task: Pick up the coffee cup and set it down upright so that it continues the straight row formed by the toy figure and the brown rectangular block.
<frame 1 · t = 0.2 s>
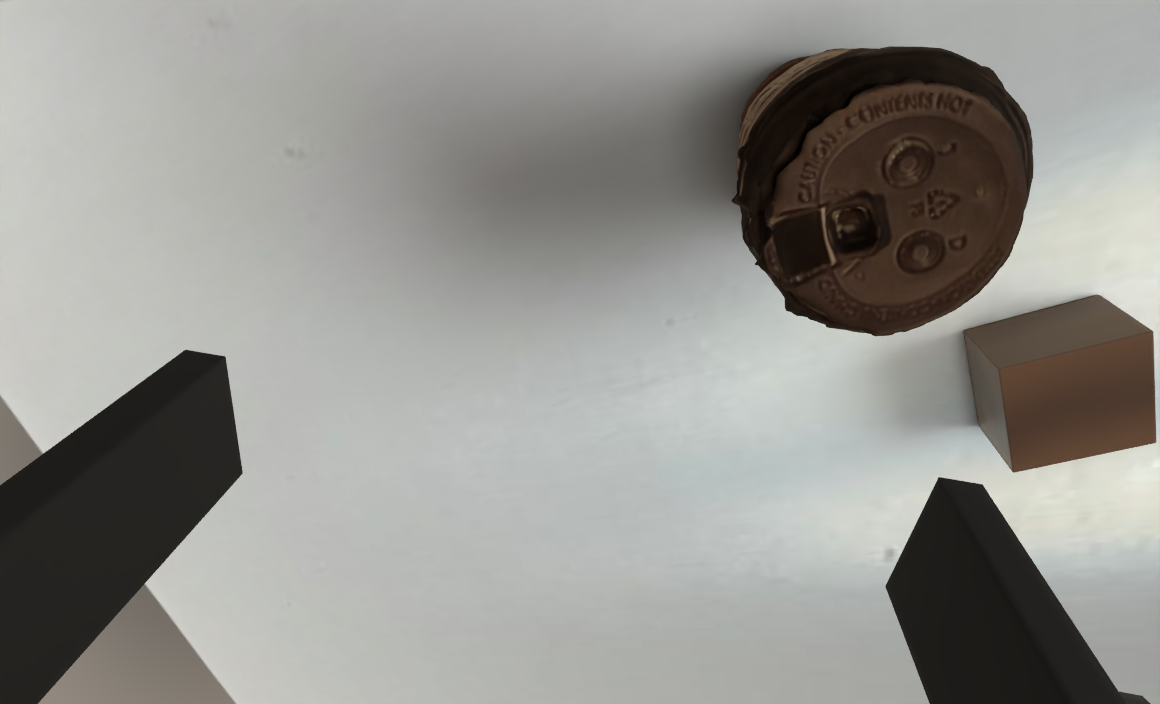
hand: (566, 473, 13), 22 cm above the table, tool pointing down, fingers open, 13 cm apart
brown rectangular block: (1035, 364, 33), on the table
coffee cup: (804, 131, 30), on the table
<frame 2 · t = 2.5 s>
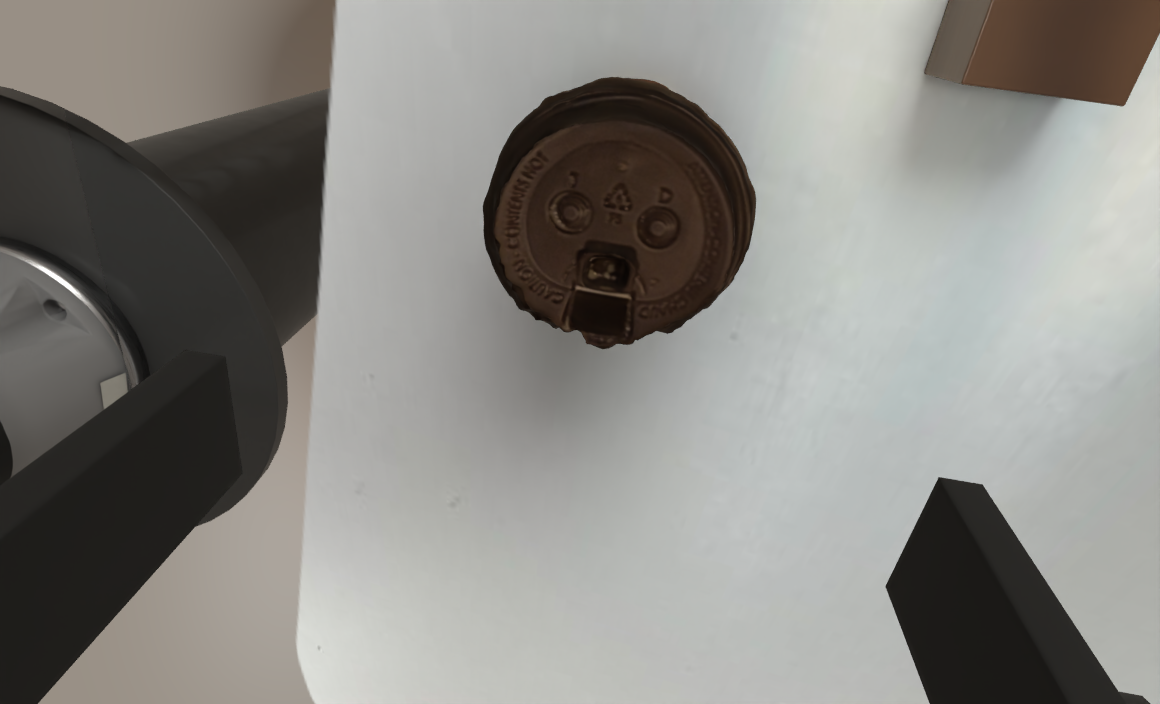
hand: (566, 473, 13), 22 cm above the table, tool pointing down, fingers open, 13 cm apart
brown rectangular block: (1025, 4, 27), on the table
coffee cup: (626, 152, 31), on the table
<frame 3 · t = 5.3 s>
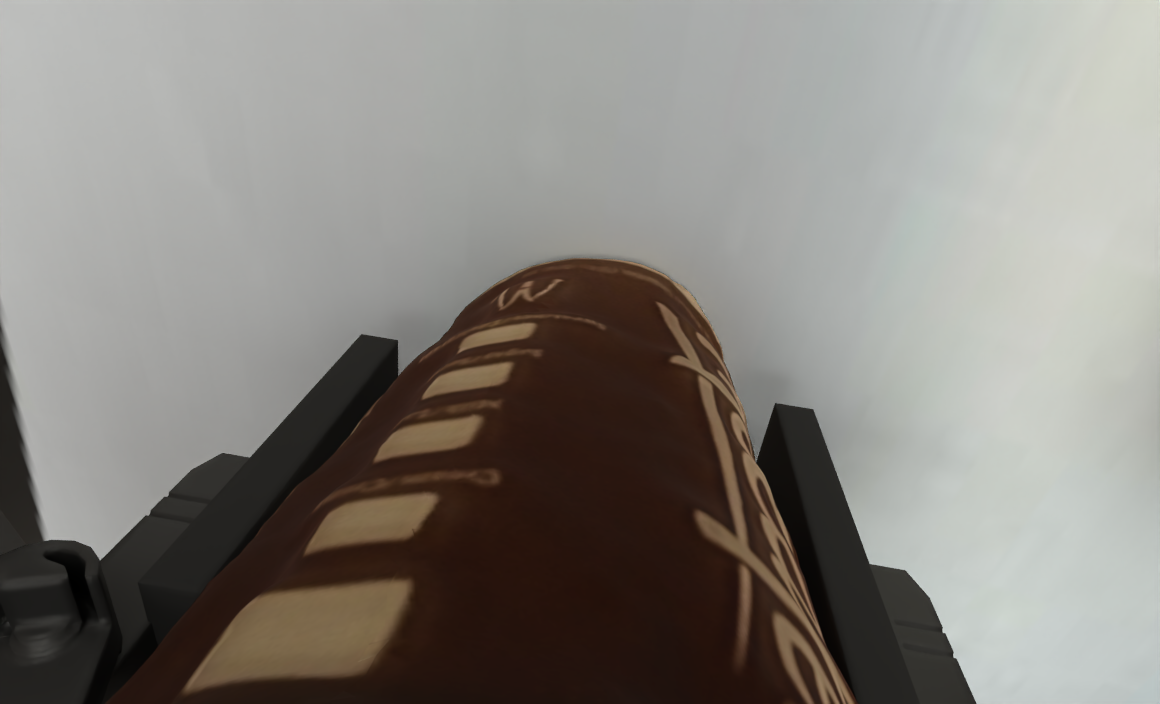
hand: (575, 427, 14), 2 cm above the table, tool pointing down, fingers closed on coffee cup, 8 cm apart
coffee cup: (584, 382, 16), on the table, touching gripper
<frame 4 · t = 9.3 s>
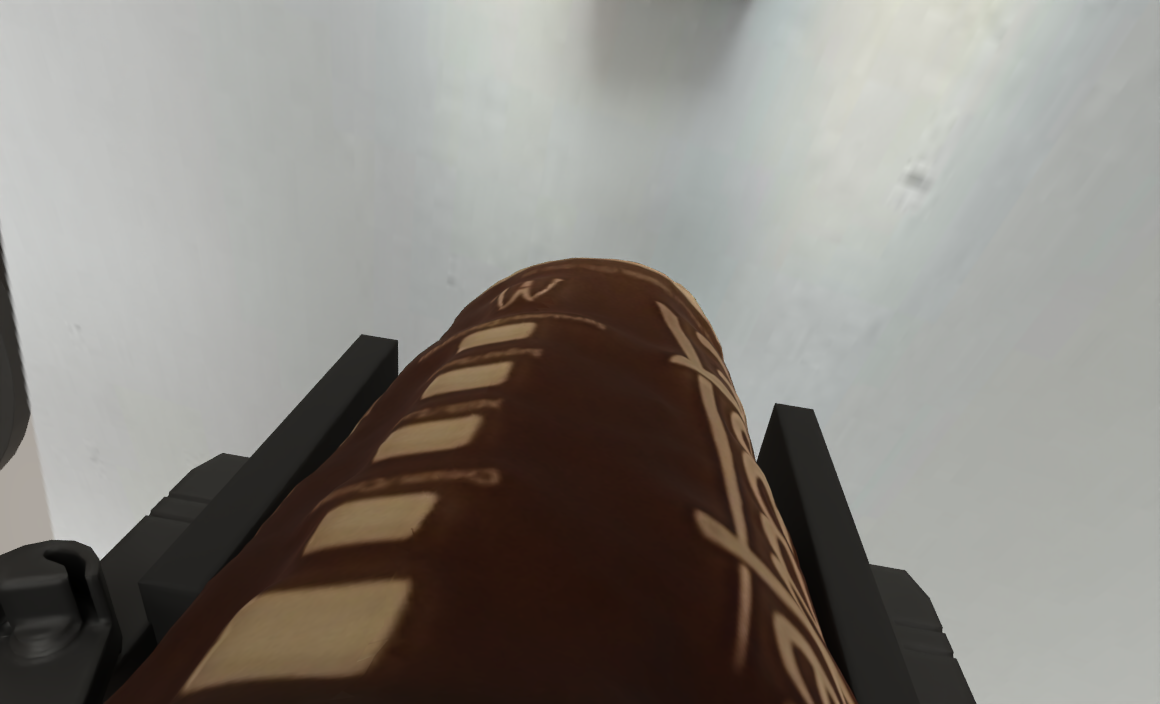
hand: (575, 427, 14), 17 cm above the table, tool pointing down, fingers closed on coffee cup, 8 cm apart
coffee cup: (584, 381, 15), point 15 cm above the table, touching gripper
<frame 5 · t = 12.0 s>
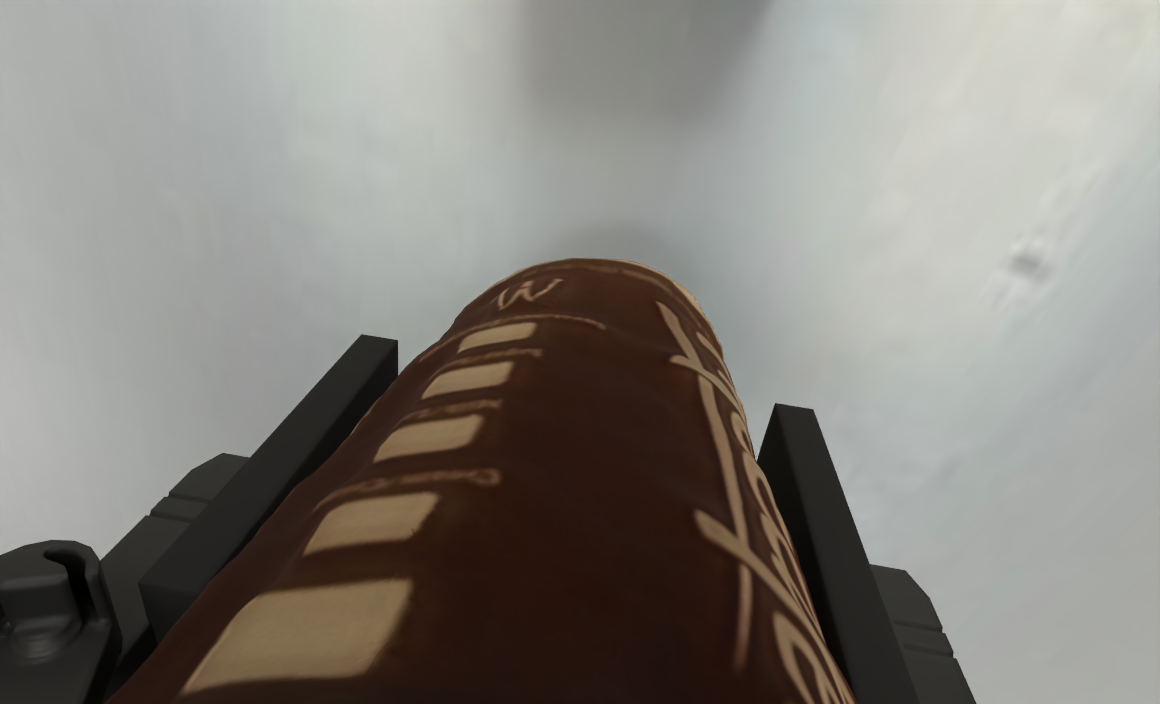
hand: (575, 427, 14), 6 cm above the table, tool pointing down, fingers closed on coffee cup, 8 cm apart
coffee cup: (584, 381, 15), point 4 cm above the table, touching gripper
when the fingers open (2 cm above the table, at t = 13.7 s): coffee cup stays where it is, on the table.
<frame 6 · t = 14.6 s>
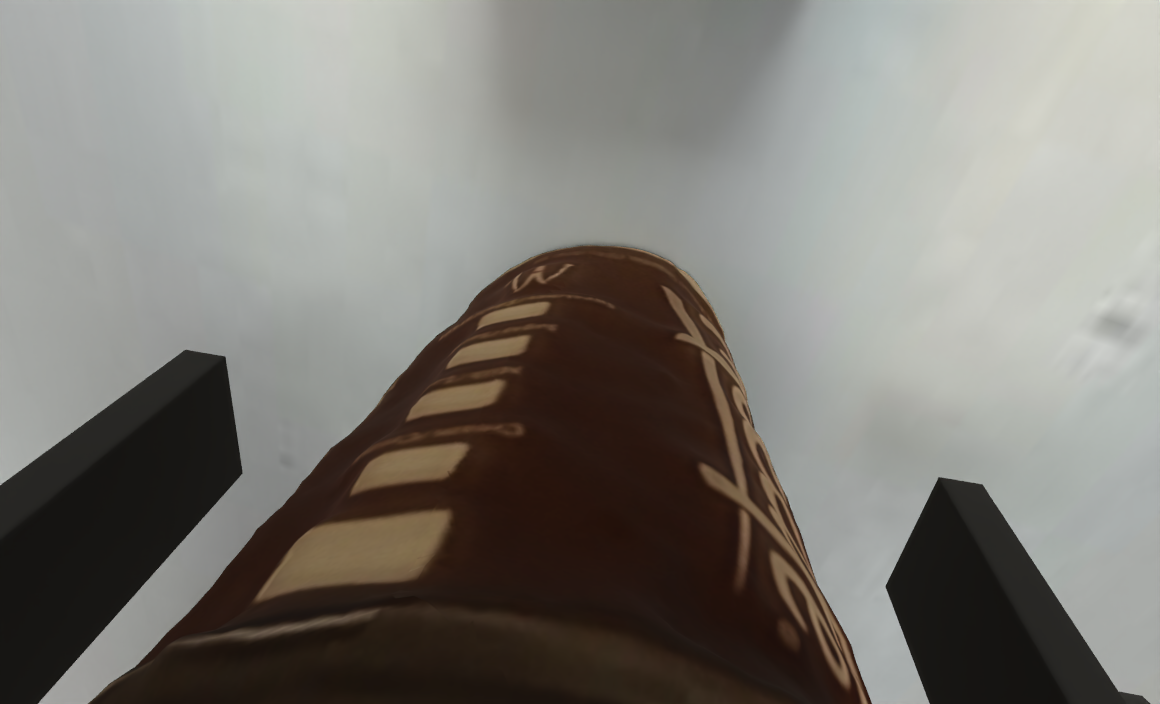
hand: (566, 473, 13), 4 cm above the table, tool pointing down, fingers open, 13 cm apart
coffee cup: (592, 365, 16), on the table
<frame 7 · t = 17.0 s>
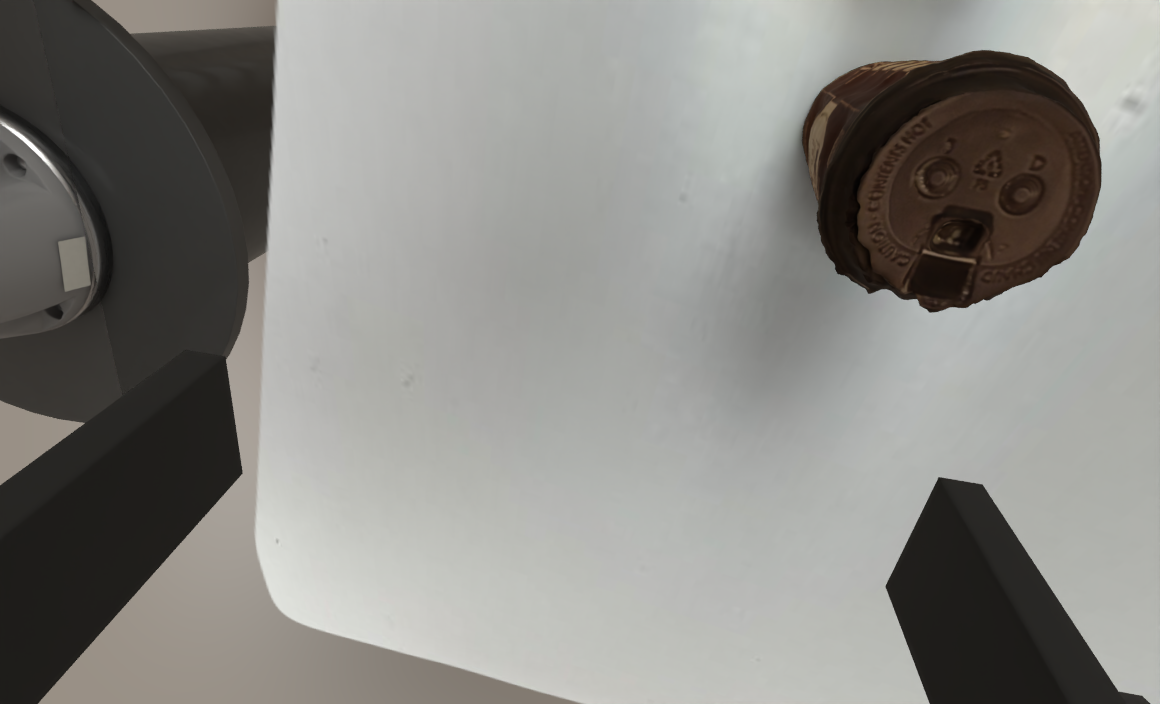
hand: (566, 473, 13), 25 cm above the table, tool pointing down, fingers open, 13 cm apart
coffee cup: (866, 133, 32), on the table
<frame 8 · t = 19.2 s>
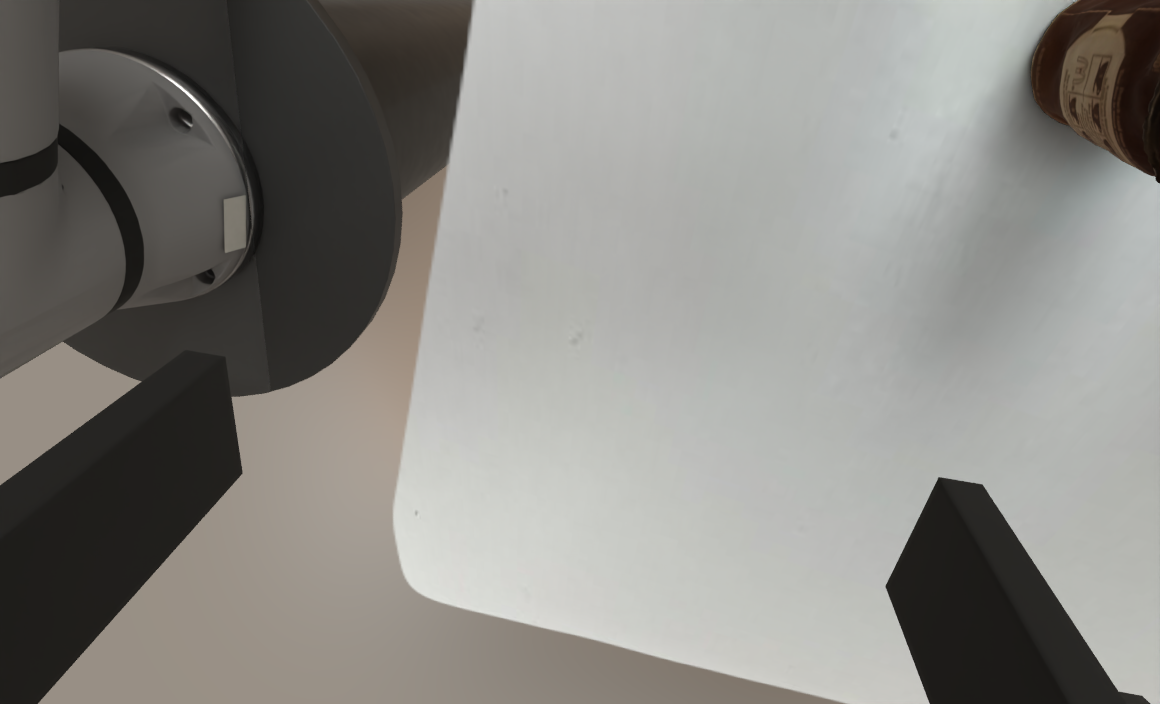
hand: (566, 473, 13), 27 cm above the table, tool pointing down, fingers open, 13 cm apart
coffee cup: (1096, 61, 32), on the table
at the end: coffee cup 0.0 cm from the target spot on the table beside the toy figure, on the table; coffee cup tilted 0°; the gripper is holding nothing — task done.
